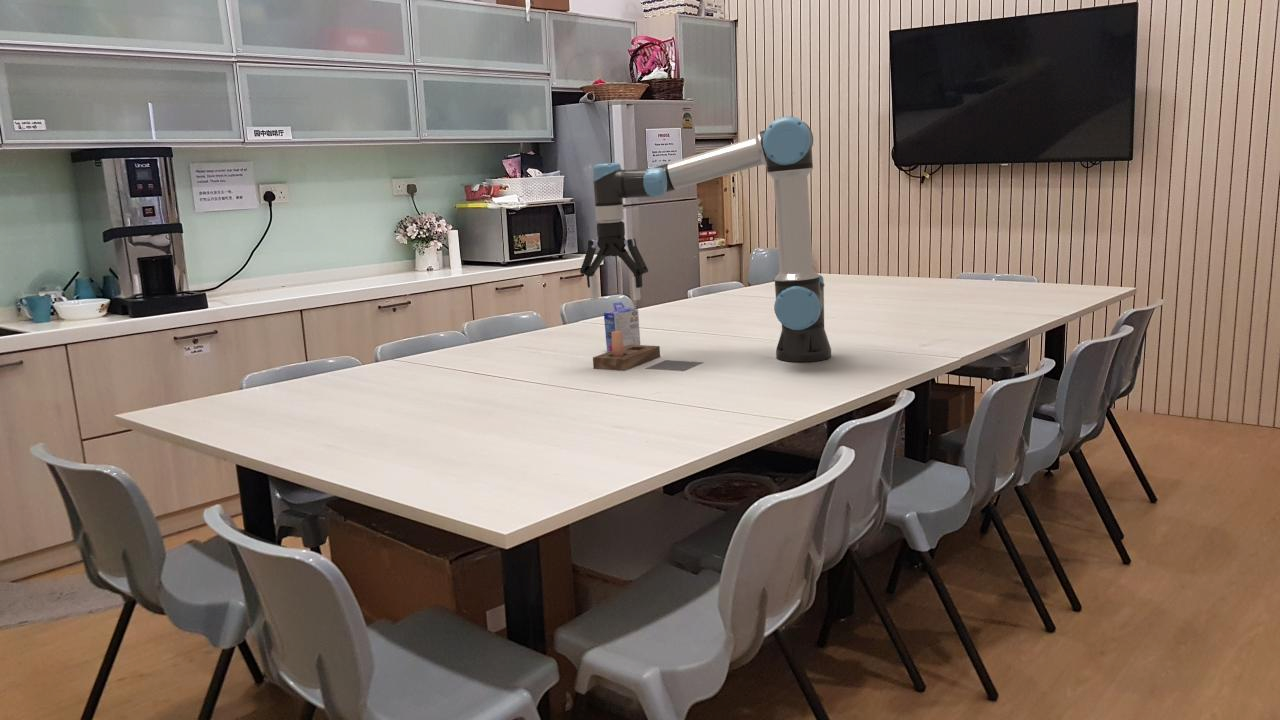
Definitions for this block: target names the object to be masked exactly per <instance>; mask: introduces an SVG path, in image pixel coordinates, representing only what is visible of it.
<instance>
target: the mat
mask: <svg viewBox="0 0 1280 720" xmlns="http://www.w3.org/2000/svg"><path fill="white" fill-rule="evenodd" d="M701 364H704V362H703V361H688V360H687V361H686V360H685V361H684V360H671V359H669V360H667V359H664V360H663V361H660V362H657V363H655V364H652V365H649V366H648V367H645V368H644V369H645V370H660V371H662V370H663V371H676V372H686V371H688V370H690V369H692V368H695V367H697V366H700V365H701Z"/></svg>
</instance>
